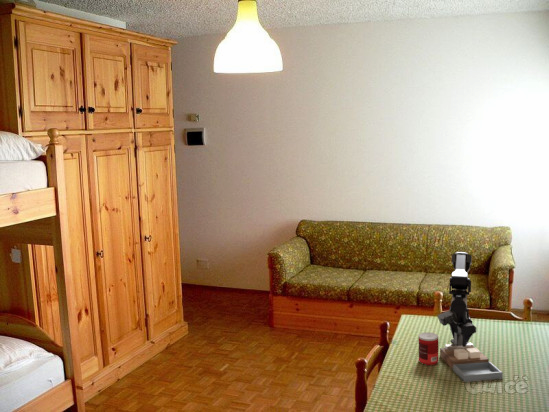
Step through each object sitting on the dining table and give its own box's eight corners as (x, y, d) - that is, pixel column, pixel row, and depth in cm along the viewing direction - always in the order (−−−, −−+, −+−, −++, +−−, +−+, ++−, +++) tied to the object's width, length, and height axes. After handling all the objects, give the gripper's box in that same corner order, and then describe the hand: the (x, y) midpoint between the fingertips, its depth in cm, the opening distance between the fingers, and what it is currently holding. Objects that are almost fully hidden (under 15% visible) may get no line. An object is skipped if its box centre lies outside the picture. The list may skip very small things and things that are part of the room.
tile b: (466, 354, 233) (466, 348, 233) (475, 353, 233) (475, 347, 233) (470, 358, 229) (470, 352, 229) (480, 357, 230) (480, 351, 229)
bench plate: (440, 356, 241) (440, 348, 240) (472, 353, 242) (472, 345, 242) (454, 370, 227) (454, 362, 226) (488, 367, 228) (488, 359, 228)
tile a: (454, 355, 233) (454, 349, 232) (463, 354, 233) (463, 348, 233) (458, 359, 229) (458, 353, 228) (468, 358, 229) (468, 352, 229)
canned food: (439, 359, 238) (439, 333, 236) (436, 367, 231) (436, 340, 229) (420, 356, 241) (420, 331, 240) (416, 364, 234) (416, 338, 232)
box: (452, 370, 227) (453, 364, 226) (489, 367, 228) (489, 361, 228) (463, 382, 217) (464, 375, 217) (502, 378, 219) (502, 372, 218)
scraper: (444, 349, 239) (445, 332, 238) (470, 347, 240) (470, 330, 239) (447, 351, 237) (447, 335, 236) (473, 349, 238) (473, 332, 237)
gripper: (431, 299, 244) (431, 335, 246) (449, 314, 226) (449, 352, 228) (457, 298, 245) (456, 333, 247) (477, 312, 227) (476, 350, 229)
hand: (459, 342), depth 238 cm, fingers open, 9 cm apart
